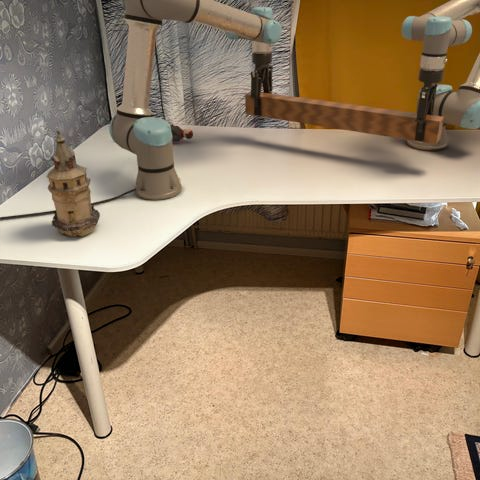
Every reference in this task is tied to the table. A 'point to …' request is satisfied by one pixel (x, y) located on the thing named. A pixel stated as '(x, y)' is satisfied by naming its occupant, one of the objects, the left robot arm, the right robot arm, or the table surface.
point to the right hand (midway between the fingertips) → (421, 137)
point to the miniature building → (70, 193)
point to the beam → (345, 116)
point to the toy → (180, 133)
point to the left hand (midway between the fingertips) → (261, 112)
